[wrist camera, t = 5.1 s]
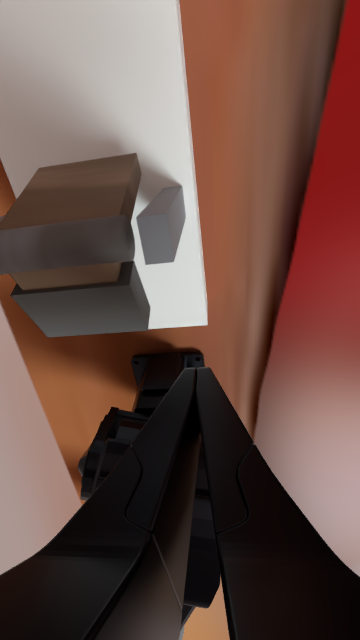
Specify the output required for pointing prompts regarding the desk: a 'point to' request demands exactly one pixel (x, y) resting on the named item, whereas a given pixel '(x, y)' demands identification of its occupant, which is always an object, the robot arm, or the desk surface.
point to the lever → (77, 248)
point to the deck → (110, 124)
